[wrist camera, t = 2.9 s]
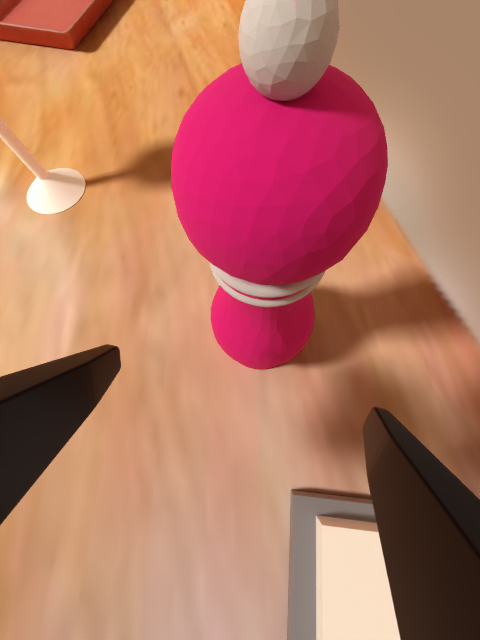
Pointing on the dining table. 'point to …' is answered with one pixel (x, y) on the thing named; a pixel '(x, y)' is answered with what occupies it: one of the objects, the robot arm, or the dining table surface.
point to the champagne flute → (46, 179)
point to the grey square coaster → (337, 571)
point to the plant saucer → (49, 21)
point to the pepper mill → (277, 176)
